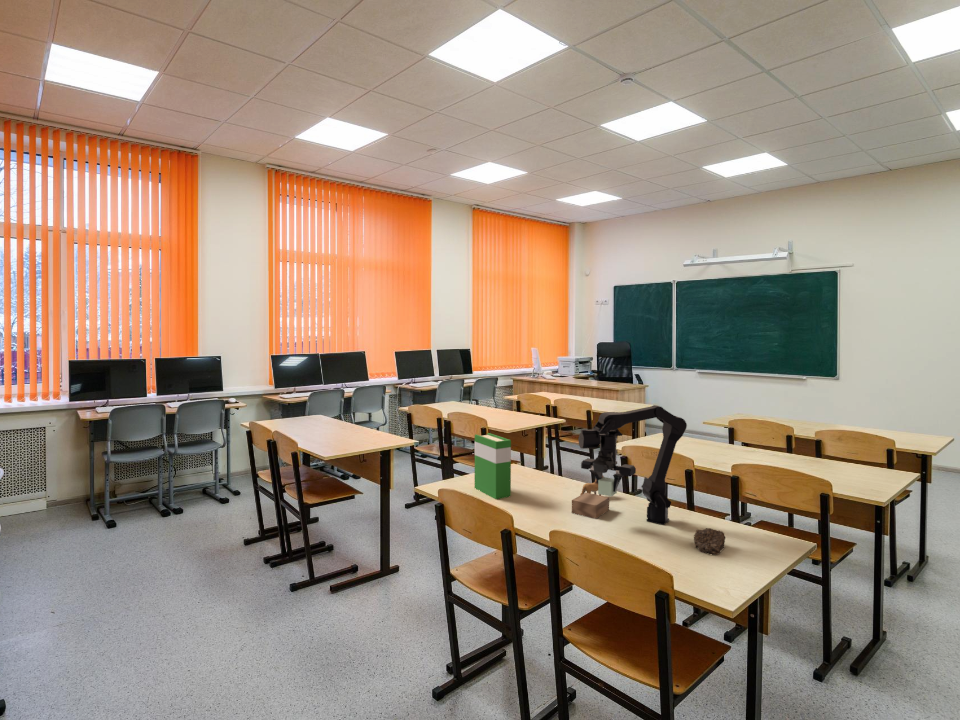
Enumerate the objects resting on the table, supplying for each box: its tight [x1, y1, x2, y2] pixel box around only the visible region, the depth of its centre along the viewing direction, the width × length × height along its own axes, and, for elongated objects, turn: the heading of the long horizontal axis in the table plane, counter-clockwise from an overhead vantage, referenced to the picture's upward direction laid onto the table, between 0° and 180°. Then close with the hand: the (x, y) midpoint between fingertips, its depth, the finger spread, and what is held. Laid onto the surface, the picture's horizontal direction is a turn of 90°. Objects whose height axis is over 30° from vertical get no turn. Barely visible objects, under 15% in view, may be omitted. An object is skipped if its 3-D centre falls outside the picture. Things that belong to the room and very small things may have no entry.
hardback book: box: [474, 432, 512, 500], centre depth 224 cm, size 18×7×24 cm, turn 30°
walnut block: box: [571, 492, 610, 520], centre depth 201 cm, size 10×12×5 cm
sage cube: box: [597, 476, 618, 497], centre depth 188 cm, size 5×5×5 cm
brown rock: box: [693, 527, 727, 556], centre depth 168 cm, size 12×10×5 cm
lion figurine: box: [579, 475, 605, 496], centre depth 217 cm, size 15×5×9 cm, turn 132°
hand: (607, 490), depth 188 cm, fingers closed on sage cube, 5 cm apart
